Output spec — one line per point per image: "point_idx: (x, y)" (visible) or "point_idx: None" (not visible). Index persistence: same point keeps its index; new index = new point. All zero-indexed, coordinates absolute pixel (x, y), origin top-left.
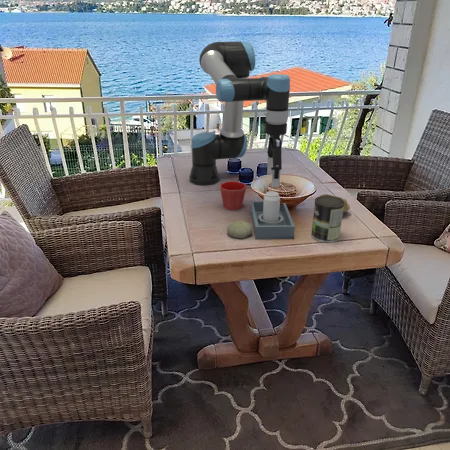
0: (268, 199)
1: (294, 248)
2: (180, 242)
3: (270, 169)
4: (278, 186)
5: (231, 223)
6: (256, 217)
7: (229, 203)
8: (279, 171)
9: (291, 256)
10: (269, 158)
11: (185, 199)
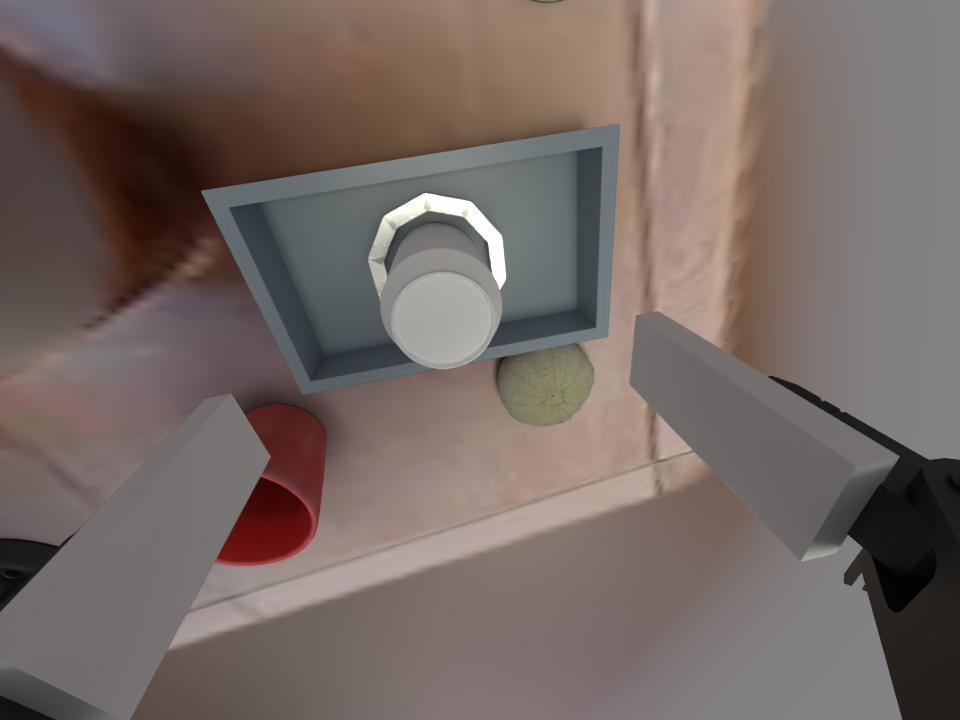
0: (494, 333)
1: (676, 132)
2: (594, 499)
3: (225, 478)
4: (660, 320)
5: (547, 423)
6: (507, 344)
7: (324, 462)
8: (845, 437)
9: (740, 152)
10: (116, 694)
11: (286, 569)
